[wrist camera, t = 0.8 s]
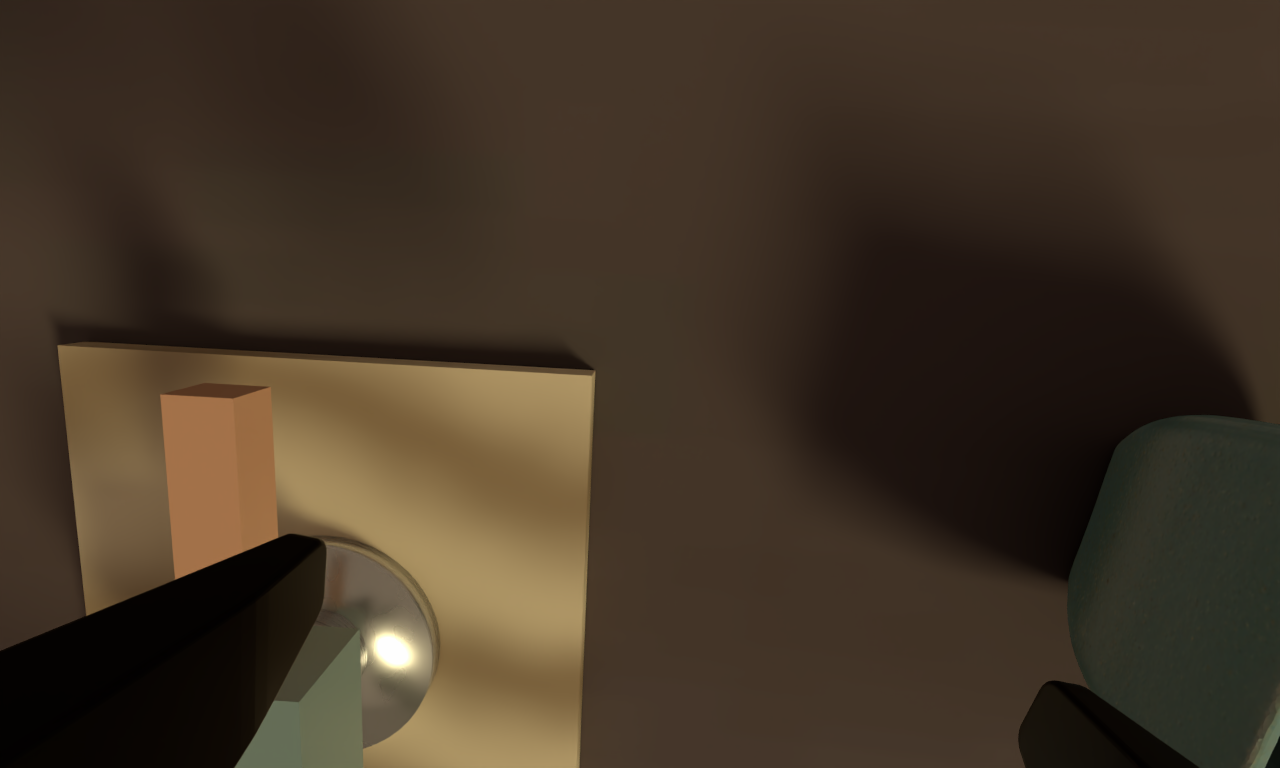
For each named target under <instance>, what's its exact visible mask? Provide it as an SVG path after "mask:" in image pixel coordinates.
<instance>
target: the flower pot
mask: <svg viewBox="0 0 1280 768" xmlns="http://www.w3.org/2000/svg"><path fill="white" fill-rule="evenodd" d="M1067 611H1068V623H1069V631H1070V637H1071V642H1072V646H1073V649H1074V653H1075V656H1076V659H1077V662H1078V665H1079V667H1080V669H1081V672H1082V674H1083V676H1084V679H1085V681H1086V683H1087V685H1088V687H1089V688H1090V690H1091V691H1092V692H1093V693H1095V694H1096V695H1098V696H1099V697H1100V698H1102V699H1103V700H1105V701H1106V702H1108V703H1109V704H1110V705H1112V706H1113V707H1115V708H1116V709H1117V710H1119V711H1120V712H1122V713H1123V714H1125V715H1126V716H1127V717H1129V718H1130V719H1132V720H1133V721H1135V722H1136V723H1137V724H1139V725H1140V726H1142V727H1143V728H1144V729H1146V730H1147V731H1149V732H1150V733H1152V734H1153V735H1154V736H1156V737H1157V738H1159V739H1160V740H1161V741H1163V742H1164V743H1166V744H1167V745H1169V746H1170V747H1171V748H1173V749H1174V750H1176V751H1177V752H1178V753H1180V754H1181V755H1183V756H1184V757H1186V758H1187V759H1188V760H1190V761H1191V762H1193V763H1194V764H1195V765H1197V766H1198V767H1200V768H1280V425H1279V424H1273V423H1267V422H1261V421H1255V420H1248V419H1241V418H1234V417H1226V416H1215V415H1186V416H1176V417H1170V418H1165V419H1161V420H1157V421H1154V422H1151V423H1148V424H1146V425H1144V426H1142V427H1140V428H1138V429H1137V430H1135V431H1134V432H1132V433H1131V434H1130V435H1128V436H1127V437H1126V438H1125V439H1123V440H1122V441H1121V442H1120V443H1119V444H1118V445H1117V447H1116V448H1115V450H1114V453H1113V456H1112V458H1111V461H1110V464H1109V466H1108V469H1107V472H1106V475H1105V478H1104V481H1103V483H1102V486H1101V489H1100V492H1099V495H1098V498H1097V501H1096V504H1095V507H1094V509H1093V512H1092V515H1091V518H1090V520H1089V523H1088V526H1087V528H1086V531H1085V534H1084V536H1083V539H1082V542H1081V544H1080V547H1079V550H1078V552H1077V555H1076V557H1075V560H1074V563H1073V566H1072V568H1071V571H1070V575H1069V581H1068V602H1067Z"/></svg>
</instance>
